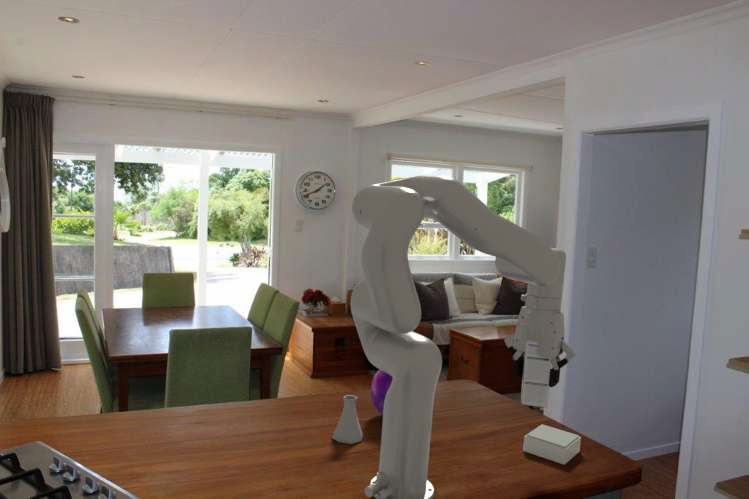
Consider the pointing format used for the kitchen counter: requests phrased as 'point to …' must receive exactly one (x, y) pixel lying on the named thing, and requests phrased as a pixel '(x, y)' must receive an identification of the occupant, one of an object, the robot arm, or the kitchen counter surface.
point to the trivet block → (552, 444)
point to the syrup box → (535, 377)
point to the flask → (348, 423)
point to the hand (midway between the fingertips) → (535, 380)
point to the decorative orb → (380, 389)
